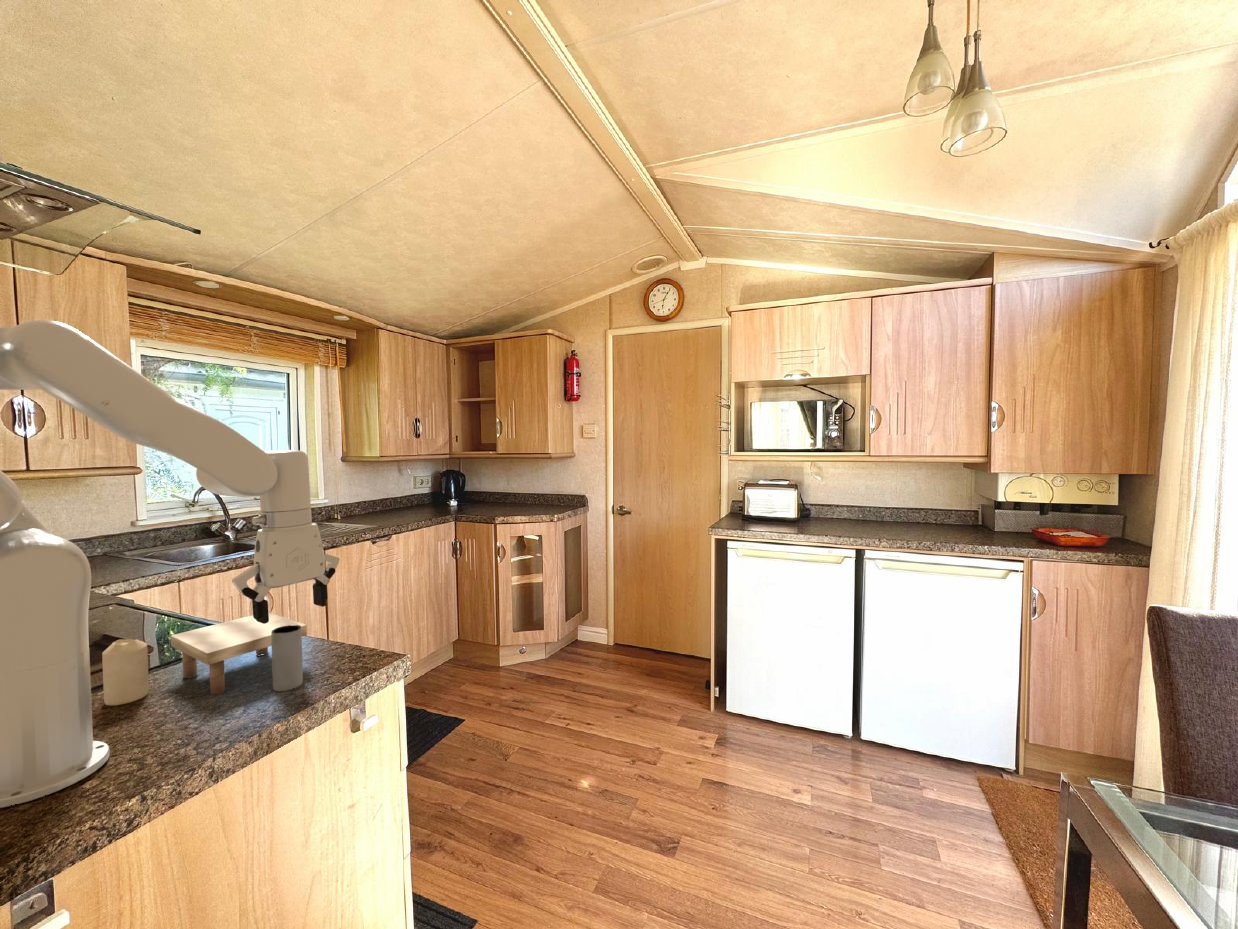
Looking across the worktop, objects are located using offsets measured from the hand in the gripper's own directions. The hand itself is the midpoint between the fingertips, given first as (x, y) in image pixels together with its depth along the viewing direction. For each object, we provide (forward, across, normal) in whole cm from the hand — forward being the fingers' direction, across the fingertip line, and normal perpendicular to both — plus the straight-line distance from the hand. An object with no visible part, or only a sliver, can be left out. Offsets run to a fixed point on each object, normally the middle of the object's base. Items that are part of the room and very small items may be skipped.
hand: (292, 613), depth 91 cm
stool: (+13, -3, +14) cm, 19 cm away
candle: (+12, -18, +19) cm, 29 cm away
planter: (+13, -1, 0) cm, 13 cm away
